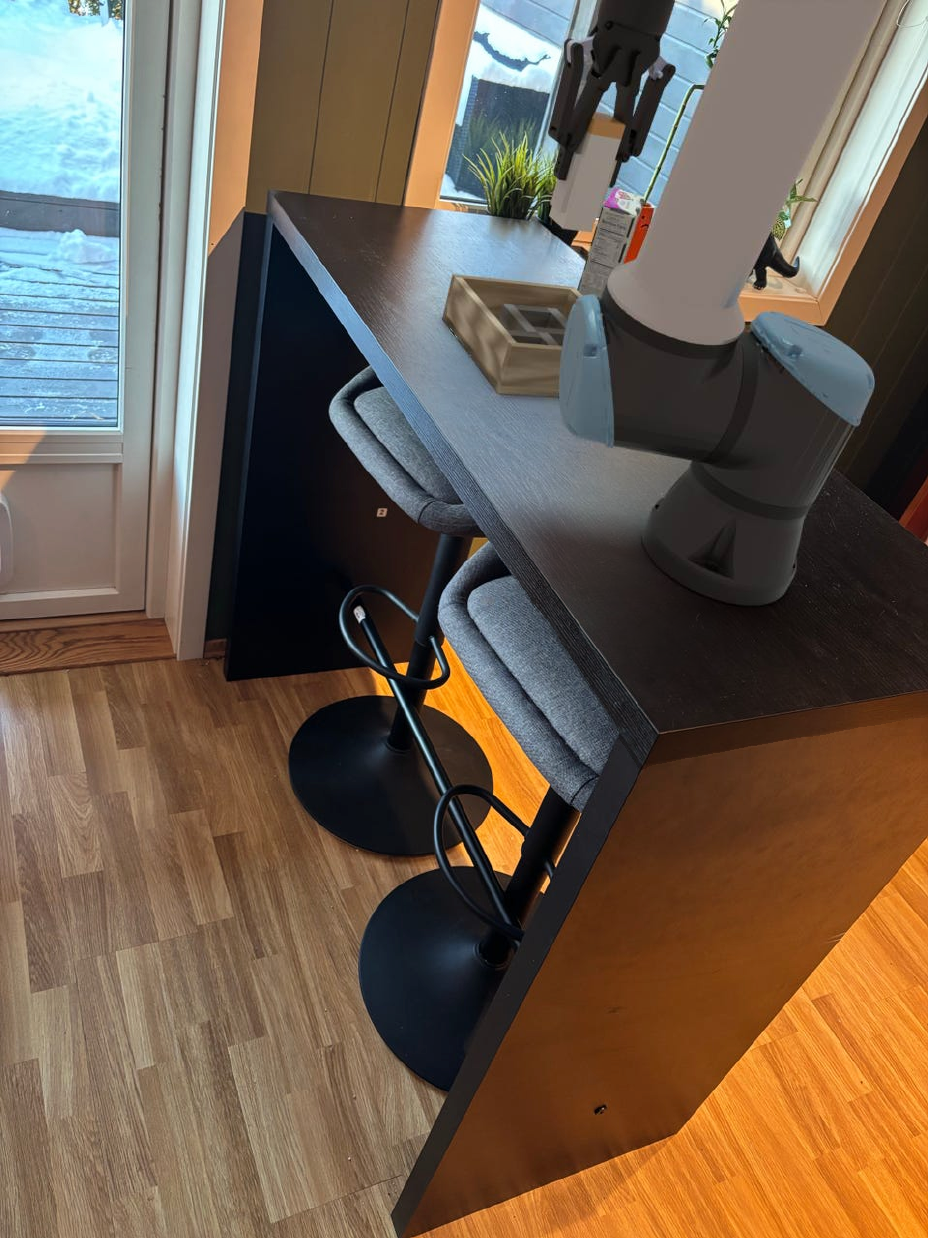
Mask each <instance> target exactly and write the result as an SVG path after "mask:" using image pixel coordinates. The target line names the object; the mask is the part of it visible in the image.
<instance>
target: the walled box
mask: <svg viewBox="0 0 928 1238" xmlns="http://www.w3.org/2000/svg"><path fill="white" fill-rule="evenodd" d="M447 291H448V293H447V297H446V300H445V304H444V308H443V309H444V310H443V311H442V312H443V313H442V317H441V319H442V318H443V319H442V321H443V320H444V321H445V322H446V323H445V322H444V321H443V322H444V323H445V324H447V325H448V326H449V327H450V328H451V329H452V331H453V332H454V334H455V335H456V336H457V338H458V339H459V340H460V342H461V343H462V344H463V346H464V347H465V348H464V347H463V346H462V347H463V348H464V350H465V349H466V350H467V351H466V350H465V351H466V353H467V354H468V353H469V354H470V355H471V356H470V355H469V354H468V355H469V356H470V358H471V357H472V358H471V359H472V360H473V362H474V361H475V362H474V363H475V364H476V365H477V368H479V370H480V371H481V373H482V374H483V375H484V376H485V378H486V379H487V380H488V382H489V383H490V384H491V386H492V387H493V388H494V390H495V391H496V393H497V394H499V395H512V396H513V395H516V396H533V397H553V398H554V397H555V398H559V374H560V362H561V353H562V346H563V340H564V334H565V329H566V325H567V321H568V318H569V314H570V311H571V309H572V307H573V305H574V304H575V303H576V300H577V299H578V298H579V297H580V296H583V295H581V294H580V293H579V292H578V291H577V289H576V287H574V286H568V285H557V284H549V283H542V282H541V283H538V282H529V281H521V280H511V279H502V278H495V277H494V278H492V277H484V276H483V277H482V276H472V275H466V274H465V275H464V274H457V273H456V274H455V273H452V275H451V279H450V283H449V287H448V290H447ZM447 325H446V326H447ZM448 326H447V327H448ZM449 327H448V328H449ZM452 331H451V332H452ZM454 334H453V335H454ZM455 335H454V336H455ZM457 338H456V339H457ZM458 339H457V340H458ZM460 342H459V343H460ZM461 343H460V344H461Z"/></svg>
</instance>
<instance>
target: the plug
mask: <svg viewBox="0 0 928 1238" xmlns="http://www.w3.org/2000/svg"><path fill="white" fill-rule="evenodd" d="M625 126H626V125H624V124H623V123H621V122H620V121H618V120H617V119H615V118H614V117H613V115H611V114H607V113H602V112H597V111H595V113H594V115H593V118H592V120H591V122H590V124H589V126H588V128H587V130H586V132H585V134H584V137H583V139H582V141H581V143H580V145H579V147H578V149H577V152H579V153H580V154H581V155H582V157H581V160H580V164H579V167H578V170H577V174H576V177H575V180H574V184H573V187H572V190H571V194H570V197H569V201H568V204H567V207H566V211H565V213H560V212H558V211H557V210H556V209H555V208H554V207H553V206H552V205H551V208H550V212H549V215H548V217H550V218H551V219H552V220H553V221H554V222H555V223H556V224H557V225H558V226H560V227H561V228H562V229H563V230H572V231H579V232H587V233H592V232H593V229H594V227H595V222H596V220H597V218H596V217H597V214H598V211H599V208H600V205H601V201H602V198H603V195H604V192H605V189H606V186H607V183H608V179H609V176H610V173H611V170H612V167H613V164H614V161H615V157H616V154H617V151H618V148H619V145H620V142H621V139H622V135H623V132H624V129H625Z"/></svg>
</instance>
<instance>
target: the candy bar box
mask: <svg viewBox="0 0 928 1238" xmlns="http://www.w3.org/2000/svg"><path fill="white" fill-rule="evenodd" d="M645 201H646V197H644V196H641V195H639V194H637V193H634V192H630V191H627V190H626V191H625V190H624V189H622V188H617V187H613V188H612V190H611V193H610V194H609V196H608V197H607V198H606V199H605V200H604V203H603V207H602V210H601V213H600V216H599V218H598V220H597V223H596V227H595V229H594V233H593V236H592V240H591V243H590V247H589V249H588V252H587V256H586V259H585V263H584V267H583V268H582V269H583V270H582V272H581V276H580V279H579V283H578V285H577V289H576V290H577V291H578V292H579V293H580V294H581V295H591V294H593V295H596V296H597V297H598V298H600V297H601V296H602V294H603V291H604V288H605V286H606V283H607V281H608V278H609V276H610V274H611V272H612V271H613V270H614V269H615V268H617V267H618V266H621V265H623V264H625V260H626V259H627V254H628V252H629V249H630V245H631V242H632V240H633V237H634V233H635V230H636V227H637V224H638V221H639V218H640V216H641V212H642V210H643V206H644V203H645Z"/></svg>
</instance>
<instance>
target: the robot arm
mask: <svg viewBox="0 0 928 1238" xmlns="http://www.w3.org/2000/svg"><path fill="white" fill-rule="evenodd" d="M884 2H885V0H738V1H737V3H736V7H735V8H734V11H733V14H732V16H731V19H730V21H729V24H728V26H727V29H726V32H725V34H724V36H723V39H722V42H721V44H720V46H719V49H718V52H717V54H716V57H715V59H714V62H713V64H712V67H711V69H710V72H709V74H708V76H707V80H706V81H705V84H704V87H703V89H702V92H701V94H700V98H699V100H698V102H697V105H696V106H695V110H694V113H692V114H693V115H692V118H691V120H690V123H689V125H688V127H687V130H686V133H685V135H684V136H683V137H684V138H683V140H682V142H681V145H680V147H679V150H678V153H677V155H676V158H675V160H674V163H673V165H672V167H671V170H670V174H668V178H667V180H666V183H665V185H664V188H663V190H662V193H661V196H660V198H659V201H658V203H657V206H656V208H655V210H654V214H653V216H652V218H651V221H650V223H649V226H648V228H647V232H646V233H645V236H644V239H643V241H642V244H641V247H640V249H639V251H638V254H637V257H636V258H635V259H633V260H630V261H628V262H626V263H625V262H624V264H623V265H621V266H618V267H617V268H615V269H614V270H613V271H612V272H611V274H610V276H609V278H608V281H607V283H606V286H605V288H604V291H603V294H602V296H601V297H600V298H598V297H597V296H596V295H593V294H591V295H583V296H580V297H579V298H578V299H577V300H576V303H575V304H574V305H573V307H572V309H571V311H570V314H569V318H568V321H567V325H566V329H565V334H564V340H563V346H562V353H561V362H560V374H559V397H558V399H559V410H560V415H561V420H562V423H563V425H564V427H565V429H566V430H567V431H568V432H569V434H571V436H574V437H576V438H579V439H583V440H585V441H591V442H594V443H598V444H602V445H605V446H606V447H607V448H610V449H612V448H613V447H616V448H621V449H626V450H627V449H628V450H633V451H636V452H637V451H639V452H643V453H647V454H648V453H649V454H653V455H658V456H664V457H670V458H675V459H680V460H686V461H691V462H690V464H689V466H688V468H687V469H686V470H685V471H684V472H683V474H681V475H680V477H678V479H677V480H676V481H675V482H674V483H673V484H672V486H671V487H670V488H669V489H668V491H667V492H665V494H664V497H662V498H660V499H659V500H657V501H656V502H655V504H654V505H653V506H652V507H651V508H650V511H649V512H648V514H647V517H646V520H645V522H644V524H643V526H642V529H641V534H640V536H641V543H642V545H643V547H644V550H645V552H646V553H647V555H648V556H649V558H650V559H651V560H652V561H653V563H655V564H656V565H657V567H659V569H660V570H662V572H664V573H665V574H667V575H668V576H669V577H670V578H672V579H673V580H674V581H676V582H678V583H679V584H680V585H682V586H684V587H686V588H688V589H690V590H692V591H694V592H695V593H698V594H701V595H702V596H705V597H707V598H710V599H713V600H716V601H719V602H723V603H727V604H732V605H739V606H749V607H750V606H763V605H768V604H771V603H774V602H776V601H778V600H779V599H780V598H781V597H783V596H784V595H785V593H786V591H787V589H788V587H789V586H790V584H791V582H792V580H793V579H794V577H795V575H796V571H797V565H798V559H797V553H798V549H799V546H800V542H801V539H802V534H803V529H804V523H805V522H804V521H805V519H806V516H807V515H808V513H809V510H810V509H811V507H812V505H813V503H814V501H815V500H816V498H817V496H818V495H819V493H820V491H821V489H822V488H823V485H824V484H825V483H826V480H827V479H828V476H829V474H830V473H831V471H832V469H834V466H835V464H836V463H837V461H838V459H839V457H840V455H841V453H842V451H843V449H844V448H845V446H846V444H847V442H848V441H849V439H850V437H851V436H852V434H853V432H854V429H855V428H856V427H858V426H859V425H860V424H861V422H862V421H861V420H862V418H863V415H864V413H865V410H866V408H867V406H868V404H869V401H870V400H871V397H872V395H873V392H874V390H875V389H874V388H875V385H876V384H875V377H874V372H873V370H872V368H871V367H870V365H869V364H868V363H867V361H865V360H864V358H862V356H861V355H859V354H858V353H857V352H856V351H855V350H853V349H852V348H851V347H850V346H849V345H847V344H845V343H844V342H843V341H841V340H840V339H838V338H837V337H834V336H833V335H831V334H830V333H828V332H827V331H825V330H823V329H821V328H820V327H817V326H815V325H813V324H812V323H809V322H807V321H804V320H802V319H800V318H797V317H795V316H792V315H789V314H786V313H782V312H779V311H773V310H771V311H762V312H760V313H758V314H757V315H756V317H755V318H754V319H752V320H751V322H750V325H749V330H747V329H746V330H745V328H746V322H745V321H746V319H745V316H744V314H743V311H742V309H741V306H740V304H739V301H738V299H739V297H740V295H741V293H742V291H743V289H744V287H745V285H746V283H747V281H748V279H749V277H750V275H751V273H752V271H753V268H754V267H755V265H756V263H757V260H758V259H759V257H760V254H761V252H762V250H763V249H764V247H765V244H766V242H767V240H768V238H769V236H770V234H771V232H772V230H773V229H774V225H775V224H776V222H777V220H778V218H779V216H780V214H781V212H782V210H783V208H784V206H785V203H786V202H787V200H788V198H789V196H790V193H791V192H792V189H793V187H794V186H795V183H796V181H797V179H798V177H799V176H800V173H801V171H802V169H803V167H804V165H805V163H806V161H807V159H808V157H809V155H810V153H811V151H812V148H813V147H814V145H815V142H817V141H816V140H817V138H818V137H819V134H820V133H821V130H822V128H823V126H824V125H825V122H826V120H827V118H828V116H829V115H830V113H831V110H832V108H833V105H834V104H835V102H836V100H837V98H838V96H839V94H840V92H841V89H842V87H843V86H844V84H845V82H846V80H847V78H848V75H849V73H850V72H851V70H852V67H853V65H854V63H855V61H856V59H857V57H858V55H859V53H860V51H861V49H862V47H863V45H864V43H865V41H866V39H867V37H868V35H869V33H870V30H871V29H872V26H873V24H875V23H874V22H875V21H876V18H877V16H878V14H879V13H880V12H881V11H880V10H881V8H882V7H883V4H884ZM675 4H676V0H601V1H600V4H599V6H598V7H599V8H598V14H597V21H596V23H595V26H594V27H593V28H592V30H591V31H590V32H589V34H588V36H587V37H584V38H581V39H576V40H575V39H573V38H570V37H569V38H566V39H565V41H564V43H563V55H564V56H563V58H564V59H563V61H564V63H563V68H562V71H561V75H560V76H561V77H560V80H559V85H558V89H557V93H556V96H555V97H556V98H555V100H554V104H553V109H552V113H551V117H550V122H549V125H548V128H547V129H548V130H547V134H548V136H549V137H550V138H551V139H552V140H554V141H555V142H557V143H558V145H559V151H558V154H557V158H556V161H555V165H554V168H553V176H554V177H555V178H556V182H555V185H554V188H553V193H552V197H551V199H550V203H549V205H550V206H551V207H552V206H553V207H554V208H555V209H556V210H557V211H558V212H560V213H565V211H566V207H567V204H568V201H569V197H570V194H571V190H572V187H573V184H574V180H575V177H576V174H577V170H578V167H579V164H580V160H581V157H582V155H581V154H580V153H579V152H577V149H578V147H579V145H580V143H581V141H582V139H583V137H584V134H585V132H586V130H587V128H588V126H589V124H590V122H591V120H592V118H593V115H594V113H595V112H597V109H598V106H599V104H600V103H601V101H602V98H603V96H604V94H605V92H607V91H609V89H610V87H611V85H612V83H615V84H614V85H615V90H616V93H615V94H616V95H615V101H614V107H613V114H612V117H614V118H615V119H617V120H618V121H620V122H621V123H623V124H624V125H626V126H625V129H624V132H623V135H622V139H621V142H620V145H619V148H618V151H617V154H616V157H615V161H614V164H613V167H612V170H611V173H610V176H609V179H608V183H607V186H606V189H605V192H604V195H603V198H602V201H601V205H600V208H599V211H598V214H597V217H596V219H599V216H600V213H601V210H602V207H603V204H604V203H605V201H606V198H607V197H606V196H607V194H608V190H609V188H610V189H614V186H616V183H617V179H618V177H619V173H620V170H621V167H622V164H625V163H627V162H629V160H630V158H632V157H635V158H638V157H639V156H641V154H642V151H643V149H644V147H645V144H646V141H647V139H648V136H649V133H650V130H651V127H652V124H653V122H654V119H655V117H656V113H657V111H658V109H659V105H660V103H661V100H662V97H663V95H664V91H665V90H666V87H667V86H668V85H669V84H670V82H671V80H672V79H673V77H674V75H676V71H677V68H676V66H675V65H673V64H671V63H670V62H668V61H667V60H665V58H663V57H662V56H661V39H662V37H663V35H664V34H665V33H666V31H667V28H668V25H669V22H670V20H671V19H670V18H671V15H672V12H673V9H674V7H675ZM589 53H590V57H591V61H592V64H591V66H590V68H589V70H588V72H587V75H586V77H585V81H586V82H585V85H584V86H583V89H582V91H581V92H580V95H579V97H578V94H579V90H580V86H581V83H582V79H583V74H584V69H585V68H584V67H585V63H586V62H588V60H589V57H588V56H589ZM646 72H648V76H647V78H646V80H645V82H644V85H643V87H642V90H641V93H640V88H641V84H642V76H643V75H644V74H645V73H646ZM639 93H640V96H639V99H638V101H637V97H638V95H639ZM577 98H578V100H577ZM636 101H637V104H636ZM635 106H636V107H635Z"/></svg>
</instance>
